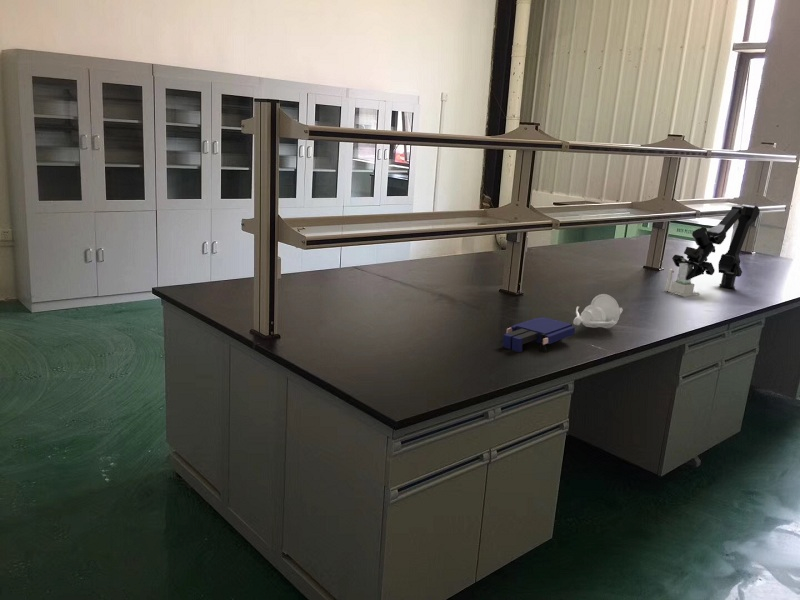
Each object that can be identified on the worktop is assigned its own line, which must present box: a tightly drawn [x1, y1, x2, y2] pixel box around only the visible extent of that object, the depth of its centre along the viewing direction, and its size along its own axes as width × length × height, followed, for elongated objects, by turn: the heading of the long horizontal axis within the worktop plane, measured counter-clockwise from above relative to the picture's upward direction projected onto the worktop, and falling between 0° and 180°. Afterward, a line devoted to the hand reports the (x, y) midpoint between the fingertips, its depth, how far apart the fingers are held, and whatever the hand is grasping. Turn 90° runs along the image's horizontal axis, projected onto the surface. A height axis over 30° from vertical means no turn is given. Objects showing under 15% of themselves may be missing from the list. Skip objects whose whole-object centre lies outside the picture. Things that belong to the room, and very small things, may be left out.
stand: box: [663, 268, 700, 297], centre depth 293 cm, size 10×11×10 cm
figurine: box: [572, 293, 624, 329], centre depth 229 cm, size 17×12×25 cm
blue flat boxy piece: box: [502, 316, 576, 353], centre depth 212 cm, size 15×6×25 cm
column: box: [675, 263, 694, 285], centre depth 293 cm, size 4×4×13 cm
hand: (682, 278), depth 292 cm, fingers closed on column, 4 cm apart
